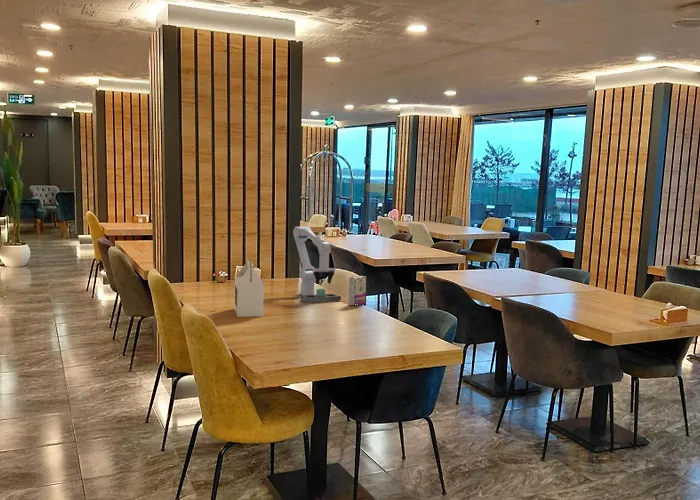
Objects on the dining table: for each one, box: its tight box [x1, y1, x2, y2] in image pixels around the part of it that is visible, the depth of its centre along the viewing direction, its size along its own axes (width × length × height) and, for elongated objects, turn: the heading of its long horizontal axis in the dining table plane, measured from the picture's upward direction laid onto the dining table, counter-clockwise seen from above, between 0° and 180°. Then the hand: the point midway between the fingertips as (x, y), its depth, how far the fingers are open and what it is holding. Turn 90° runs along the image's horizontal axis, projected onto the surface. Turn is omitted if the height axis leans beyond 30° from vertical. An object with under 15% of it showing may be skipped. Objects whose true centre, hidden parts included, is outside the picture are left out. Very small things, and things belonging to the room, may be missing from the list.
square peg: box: [316, 288, 326, 297], centre depth 379 cm, size 4×4×7 cm
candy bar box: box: [348, 275, 367, 306], centre depth 370 cm, size 11×5×16 cm, turn 143°
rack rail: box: [300, 293, 342, 304], centre depth 379 cm, size 10×22×3 cm, turn 118°
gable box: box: [233, 258, 265, 318], centre depth 337 cm, size 22×13×28 cm, turn 15°
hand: (323, 283), depth 385 cm, fingers open, 7 cm apart
